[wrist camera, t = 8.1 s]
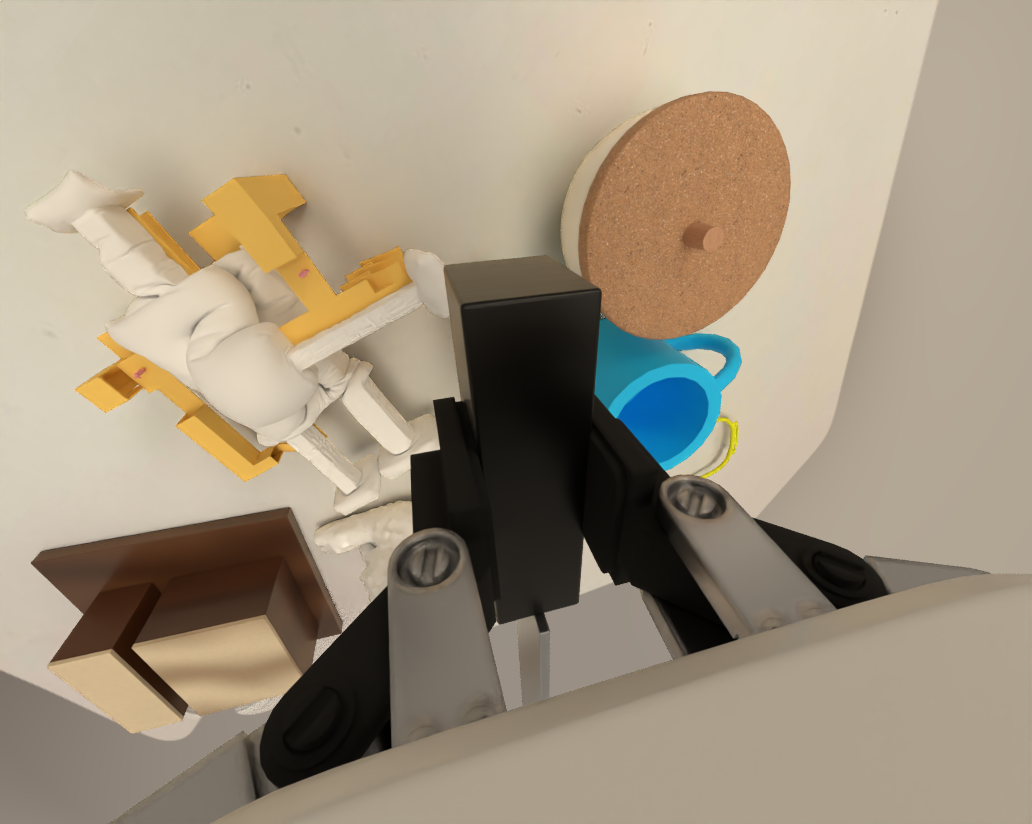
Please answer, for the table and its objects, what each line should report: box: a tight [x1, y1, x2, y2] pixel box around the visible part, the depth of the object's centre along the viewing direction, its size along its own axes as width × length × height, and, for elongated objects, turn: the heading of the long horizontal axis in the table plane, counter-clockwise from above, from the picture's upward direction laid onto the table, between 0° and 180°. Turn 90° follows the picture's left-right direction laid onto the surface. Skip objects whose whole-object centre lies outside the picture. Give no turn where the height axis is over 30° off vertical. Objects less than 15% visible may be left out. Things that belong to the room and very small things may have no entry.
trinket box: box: [560, 92, 791, 340], centre depth 21 cm, size 11×11×9 cm
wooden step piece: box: [47, 582, 188, 734], centre depth 30 cm, size 10×3×5 cm, turn 1°
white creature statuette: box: [314, 500, 413, 602], centre depth 29 cm, size 10×9×12 cm
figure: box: [24, 170, 450, 516], centre depth 21 cm, size 17×18×9 cm
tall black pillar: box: [443, 255, 602, 706], centre depth 14 cm, size 23×2×4 cm, turn 3°
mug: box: [594, 318, 742, 471], centre depth 28 cm, size 12×8×8 cm
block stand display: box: [31, 508, 343, 716], centre depth 31 cm, size 16×16×6 cm
